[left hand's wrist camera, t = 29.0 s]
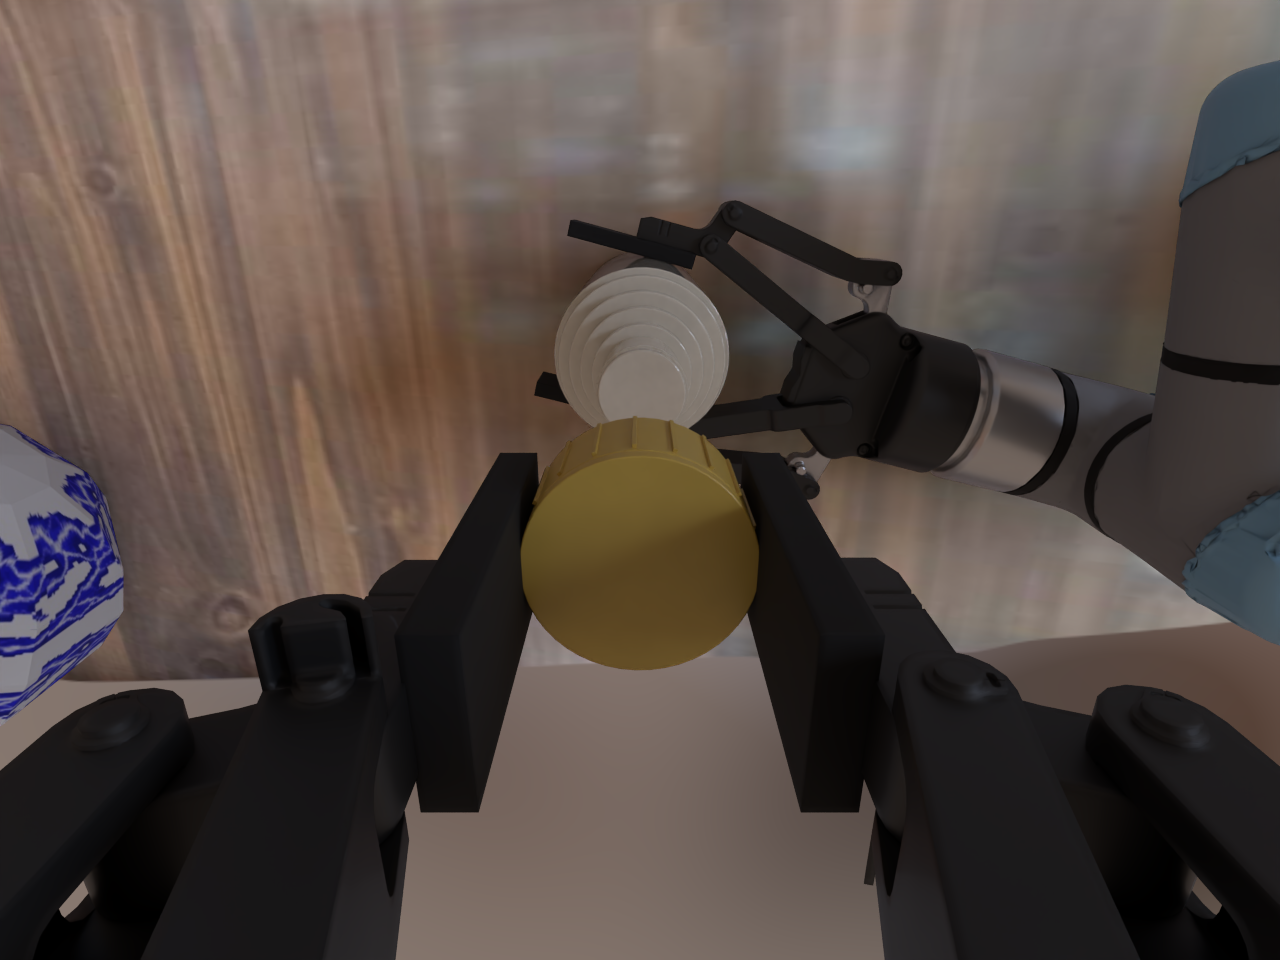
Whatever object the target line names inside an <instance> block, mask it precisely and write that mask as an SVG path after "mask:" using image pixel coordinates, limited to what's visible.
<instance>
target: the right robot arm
mask: <svg viewBox="0 0 1280 960" xmlns="http://www.w3.org/2000/svg"><path fill="white" fill-rule="evenodd" d="M1179 206H1180V207H1181V208H1182V209H1181V216H1180V224H1179V232H1178V240H1177V247H1176V255H1175V263H1174V271H1173V279H1172V286H1171V294H1170V302H1169V310H1168V317H1167V325H1166V333H1165V341H1164V343H1163V349H1162V357H1161V360H1160V367H1159V374H1158V381H1157V387H1156V394H1153V393H1150V394H1147V393H1143V392H1139V391H1136V390H1132V389H1128V388H1124V387H1121V386H1117V385H1113V384H1109V383H1104V382H1100V381H1096V380H1092V379H1088V378H1084V377H1080V376H1076V375H1072V374H1067V373H1063V372H1060V371H1058V370H1056V369H1052V368H1050V367H1047V366H1043V365H1039V364H1036V363H1032V362H1028V361H1025V360H1021V359H1018V358H1014V357H1010V356H1007V355H1003V354H999V353H996V352H992V351H988V350H984V349H975V350H972V349H971V348H970V347H969V346H967V345H965V344H962V343H959V342H955V341H951V340H948V339H944V338H940V337H937V336H933V335H929V334H926V333H922V332H918V331H915V330H911V329H907V328H904V327H901V326H899V325H898V324H897V323H896V322H895V321H894V320H893V319H892V318H891V317H890V316H889V315H887V309H888V304H889V299H890V293H891V288H892V286H893V285H895V284H897V283H898V282H899V280H900V279H901V277H902V268H901V266H900V265H899V264H898V263H895V262H891V261H886V260H880V259H870V258H856V257H854V256H852V255H850V254H848V253H846V252H844V251H841V250H839V249H837V248H835V247H833V246H831V245H829V244H827V243H825V242H823V241H821V240H819V239H817V238H815V237H812V236H810V235H808V234H806V233H804V232H802V231H800V230H798V229H796V228H794V227H792V226H790V225H788V224H785V223H783V222H781V221H779V220H777V219H775V218H773V217H771V216H769V215H767V214H765V213H763V212H761V211H759V210H756V209H754V208H752V207H750V206H748V205H746V204H744V203H742V202H740V201H736V200H735V201H728V202H725V203H723V204H722V205H721V206H720V207H719V209H718V211H717V213H716V214H715V216H714V217H713V219H712V220H711V222H710V223H709V224H708V225H707V226H706V227H704V228H701V229H693V228H690V227H686V226H682V225H679V224H675V223H672V222H668V221H664V220H661V219H657V218H654V217H646V218H641V220H640V224H639V228H638V233H637V237H636V236H633V235H629V234H625V233H622V232H618V231H614V230H611V229H607V228H603V227H600V226H596V225H593V224H589V223H585V222H582V221H578V220H570V225H569V230H568V235H567V236H570V237H574V238H578V239H581V240H585V241H589V242H592V243H596V244H600V245H603V246H607V247H611V248H615V249H618V250H622V251H626V252H629V253H633V254H637V255H640V256H644V257H648V258H651V259H655V260H659V261H662V262H666V263H670V264H673V265H677V266H681V267H684V268H688V269H692V268H693V264H694V260H695V257H696V255H698V256H701V257H704V258H706V259H707V260H708V261H709V262H710V263H712V264H713V265H714V266H715V267H717V268H718V269H719V270H720V271H721V272H723V273H724V274H725V275H726V276H727V277H729V278H730V279H731V280H732V281H734V282H735V283H736V284H737V285H738V286H740V287H741V288H742V289H743V290H745V291H746V292H747V293H748V294H749V295H751V296H752V297H753V298H754V299H755V300H757V301H758V302H759V303H760V304H762V305H763V306H764V307H765V308H766V309H768V310H769V311H770V312H771V313H773V314H774V315H775V316H776V317H777V318H779V319H780V320H781V321H782V322H783V323H785V324H786V325H787V326H788V327H789V328H791V329H792V330H793V331H794V332H796V333H797V334H798V335H799V336H800V337H802V340H801V341H797V344H796V347H795V350H794V353H793V366H792V369H791V371H790V372H789V374H788V375H787V377H786V378H785V380H784V383H783V385H782V388H781V391H780V394H773V395H767V396H764V397H762V398H760V399H754V400H747V401H740V402H733V403H726V404H719V405H713V406H712V407H711V408H710V410H709V411H708V412H707V413H706V414H705V415H704V416H703V417H702V418H701V419H700V420H699V421H698V422H697V423H695V424H694V425H693V426H691V427H690V428H688V429H690V430H692V431H694V432H696V433H697V434H699V435H700V436H702V435H704V436H706V439H710V438H717V437H724V436H731V435H738V434H745V433H753V432H760V431H767V430H771V431H777V432H779V431H787V430H795V429H800V430H801V431H802V432H803V433H804V435H805V436H806V437H807V439H808V440H809V441H810V442H811V444H812V445H813V448H812V449H811V450H810V451H808V452H806V453H799V452H793V453H791V454H789V455H788V456H787V458H784V457H782V456H781V457H782V458H783V460H784V462H785V463H786V465H787V467H788V469H789V470H790V472H791V474H792V475H793V477H794V479H795V481H796V482H797V484H798V486H799V488H800V489H801V491H802V493H803V494H804V496H805V498H806V499H807V500H809V499H813V498H815V497H816V496H817V495H818V494H819V492H820V487H819V485H818V483H817V481H818V480H819V478H820V476H821V475H822V473H823V471H824V470H825V468H826V466H827V465H828V463H829V462H830V460H831V459H838V458H842V457H846V456H857V457H861V458H865V459H869V460H873V461H877V462H881V463H885V464H889V465H893V466H897V467H901V468H905V469H909V470H913V471H917V472H928V471H930V472H931V473H932V474H933V475H934V476H937V477H940V478H944V479H948V480H953V481H957V482H961V483H965V484H969V485H974V486H978V487H982V488H986V489H990V490H994V491H999V492H1003V493H1007V494H1011V495H1016V496H1019V497H1023V498H1027V499H1031V500H1034V501H1038V502H1041V503H1045V504H1049V505H1052V506H1056V507H1059V508H1062V509H1064V510H1067V511H1069V512H1071V513H1073V514H1075V515H1077V516H1078V517H1080V518H1081V519H1082V520H1084V521H1085V522H1087V523H1088V524H1090V525H1091V526H1093V527H1094V528H1095V529H1097V530H1098V531H1100V532H1101V533H1103V534H1104V535H1106V536H1107V537H1109V538H1111V539H1113V540H1114V541H1116V542H1118V543H1120V544H1122V545H1123V546H1124V547H1126V548H1127V549H1129V550H1130V551H1131V552H1133V553H1134V554H1136V555H1137V556H1138V557H1140V558H1141V559H1143V560H1144V561H1145V562H1147V563H1148V564H1149V565H1151V566H1152V567H1153V568H1155V569H1156V570H1158V571H1159V572H1160V573H1162V574H1163V575H1164V576H1166V577H1167V578H1168V579H1170V580H1171V581H1172V582H1174V583H1175V584H1176V585H1178V586H1179V587H1180V588H1182V589H1183V590H1184V591H1186V594H1187V595H1188V596H1189V597H1190V598H1192V599H1193V600H1195V601H1196V602H1197V603H1199V604H1201V605H1203V606H1205V607H1207V608H1209V609H1211V610H1212V611H1214V612H1216V613H1217V614H1219V615H1221V616H1223V617H1224V618H1226V619H1228V620H1229V621H1231V622H1233V623H1234V624H1236V625H1238V626H1240V627H1241V628H1243V629H1245V630H1248V631H1250V632H1252V633H1254V634H1256V635H1257V636H1259V637H1261V638H1263V639H1265V640H1267V641H1269V642H1271V643H1274V644H1277V645H1280V60H1279V61H1275V62H1270V63H1266V64H1262V65H1258V66H1255V67H1251V68H1248V69H1245V70H1242V71H1239V72H1237V73H1235V74H1233V75H1231V76H1229V77H1227V78H1226V79H1225V80H1223V81H1222V82H1221V83H1219V84H1218V85H1217V86H1216V87H1215V88H1214V89H1213V90H1212V91H1211V93H1210V94H1209V95H1208V97H1207V98H1206V99H1205V101H1204V103H1203V105H1202V108H1201V110H1200V114H1199V119H1198V123H1197V128H1196V132H1195V136H1194V141H1193V145H1192V150H1191V154H1190V159H1189V163H1188V168H1187V172H1186V177H1185V181H1184V185H1183V189H1182V191H1181V193H1180V197H1179ZM735 231H738V232H740V233H743V234H745V235H747V236H749V237H751V238H753V239H755V240H757V241H759V242H762V243H764V244H766V245H768V246H770V247H772V248H774V249H776V250H778V251H780V252H783V253H785V254H787V255H789V256H791V257H793V258H795V259H797V260H799V261H802V262H804V263H806V264H808V265H810V266H812V267H814V268H816V269H818V270H820V271H823V272H825V273H827V274H829V275H831V276H834V277H837V278H840V279H843V280H846V281H849V282H848V291H849V293H850V294H851V295H852V296H854V297H857V298H859V299H860V300H861V301H862V302H863V305H864V310H863V311H860V312H858V313H855V314H853V315H850V316H847V317H845V318H842V319H840V320H837V321H834V322H832V323H829V324H827V325H825V324H824V323H823V322H821V321H820V320H819V319H818V318H816V317H815V316H814V315H813V314H811V313H810V312H809V311H807V310H806V309H805V308H804V307H803V306H801V305H800V304H799V303H798V302H797V301H795V300H794V299H793V298H792V297H791V296H789V295H788V294H787V293H786V292H785V291H784V290H782V289H781V288H780V287H779V286H778V285H776V284H775V283H774V282H773V281H772V280H770V279H769V278H768V277H767V276H766V275H764V274H763V273H762V272H761V271H760V270H758V269H757V268H756V267H755V266H754V265H752V264H751V263H750V262H749V261H748V260H746V259H745V258H744V257H743V256H742V255H740V254H739V253H738V252H737V251H736V250H734V249H733V248H732V247H731V246H730V245H728V244H727V243H728V241H729V240H730V238H731V237H732V235H733V234H734V233H735ZM534 395H535V396H539V397H543V398H547V399H551V400H555V401H559V402H563V403H567V404H569V402H568V401H567V399H566V398H565V396H564V394H563V392H562V390H561V387H560V385H559V381H558V378H557V375H556V374H552V373H548V372H543V373H542V375H541V376H540V378H539V380H538V381H537V385H536V389H535V394H534ZM717 450H718V451H719V452H720V453H721V454H722V456H723V457H724V458H725V459H729V460H730V462H731V465H732V468H733V471H734V473H735V476H736V479H737V482H738V484H741V472H742V454H743V453H757V452H746V451H735V450H724V449H717Z"/></svg>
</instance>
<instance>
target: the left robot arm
mask: <svg viewBox="0 0 1280 960" xmlns="http://www.w3.org/2000/svg"><path fill="white" fill-rule="evenodd" d="M538 487H539V479H538V462H537V453H500V454H499V456H498V458H497V459H496V461H495V463H494V464H493V466H492V468H491V470H490V471H489V473H488V475H487V476H486V478H485V480H484V482H483V483H482V485H481V487H480V488H479V490H478V492H477V494H476V495H475V497H474V499H473V500H472V502H471V504H470V506H469V507H468V509H467V511H466V512H465V514H464V516H463V518H462V519H461V521H460V523H459V524H458V526H457V528H456V530H455V531H454V533H453V535H452V536H451V538H450V540H449V542H448V543H447V545H446V547H445V548H444V550H443V552H442V554H441V555H440V557H439V559H438V560H404V561H402V562H401V563H399V564H398V565H396V566H395V567H393V568H391V569H390V570H388V571H387V572H385V573H384V574H382V575H381V576H380V578H379V579H378V580H377V582H376V583H375V585H374V586H373V587H372V589H371V590H370V592H369V596H366V597H365V599H364V600H363V599H362V598H358V597H354V596H350V595H346V594H322V595H317V596H312V597H307V598H301V599H298V600H295V601H293V602H290V603H287V604H284V605H282V606H279V607H277V608H275V609H274V610H272V611H270V612H269V613H267V614H265V615H264V616H262V617H260V618H259V619H258V620H257V621H256V622H255V623H254V625H253V626H252V627H251V628H250V629H249V630H248V633H249V637H250V641H251V645H252V649H253V654H254V658H255V662H256V666H257V670H258V674H259V678H260V682H261V687H262V691H263V692H262V694H261V696H260V698H259V700H258V703H257V704H254V705H250V706H246V707H243V708H239V709H234V710H229V711H224V712H219V713H214V714H209V715H205V716H200V717H195V718H190V719H189V718H188V715H187V711H186V708H185V705H184V701H183V699H182V698H181V697H179V696H178V695H177V694H176V693H175V692H173V691H170V690H164V689H158V688H149V689H139V690H129V691H125V692H120V693H118V694H116V695H115V694H112V695H109V696H106V697H103V698H101V699H99V700H97V701H96V702H93V703H91V704H89V705H87V706H85V707H82V708H80V709H78V710H76V711H74V712H73V713H71V714H70V715H69V716H67V717H66V718H64V719H63V720H61V721H60V722H58V723H57V724H55V725H54V726H53V727H51V728H50V729H49V730H48V731H47V732H45V733H44V734H43V735H42V736H41V737H40V738H38V739H37V740H36V741H35V742H34V743H32V744H31V745H30V746H29V747H28V748H26V749H25V750H24V751H23V752H22V753H21V754H19V755H18V756H17V757H16V758H15V759H13V760H12V761H11V762H10V763H9V764H8V765H6V766H5V767H4V768H3V769H2V770H1V771H0V960H395V959H396V950H397V941H398V932H399V923H400V915H401V906H402V897H403V888H404V879H405V870H406V861H407V853H408V844H409V837H408V830H407V823H406V817H405V811H404V810H405V808H406V805H407V802H408V800H409V797H410V795H411V792H412V790H413V787H414V785H415V782H416V784H417V791H418V797H419V804H420V810H421V812H479V809H480V805H481V802H482V798H483V794H484V790H485V787H486V783H487V779H488V776H489V772H490V768H491V764H492V761H493V757H494V753H495V750H496V746H497V742H498V738H499V735H500V731H501V727H502V723H503V720H504V716H505V712H506V708H507V705H508V701H509V697H510V694H511V690H512V686H513V683H514V679H515V675H516V671H517V668H518V664H519V660H520V656H521V653H522V649H523V645H524V642H525V638H526V634H527V630H528V627H529V623H530V619H531V616H532V612H533V611H532V610H531V608H530V606H529V604H528V602H527V599H526V597H525V594H524V591H523V581H522V567H521V551H520V547H521V542H522V537H523V534H524V531H525V529H526V526H527V523H528V520H529V518H530V515H531V512H532V509H533V507H534V504H532V503H533V500H534V497H535V495H536V492H537V489H538ZM741 489H743V491H744V494H745V497H746V499H747V502H748V505H749V507H750V510H751V513H752V515H753V518H754V521H755V523H756V529H755V531H756V535H757V539H758V542H759V561H758V575H757V589H756V593H755V596H754V599H753V602H752V604H751V606H750V607H749V609H748V611H747V613H748V617H749V621H750V625H751V628H752V632H753V636H754V639H755V643H756V647H757V651H758V654H759V658H760V662H761V665H762V669H763V673H764V677H765V680H766V684H767V688H768V692H769V695H770V699H771V703H772V706H773V710H774V714H775V718H776V721H777V725H778V729H779V733H780V736H781V740H782V744H783V747H784V751H785V755H786V759H787V762H788V766H789V770H790V773H791V777H792V781H793V785H794V788H795V792H796V796H797V799H798V803H799V807H800V811H801V812H859V807H860V801H861V794H862V788H863V781H864V780H865V782H866V785H867V787H868V790H869V792H870V795H871V798H872V800H873V802H874V805H875V808H876V811H875V817H874V823H873V829H872V835H871V842H870V848H869V854H868V860H867V866H866V873H865V880H864V884H868V885H873V883H874V877H875V878H876V886H877V895H878V904H879V913H880V922H881V930H882V939H883V948H884V957H885V960H1280V766H1279V765H1277V764H1276V763H1275V762H1274V761H1273V760H1271V759H1270V758H1269V757H1268V756H1267V755H1266V754H1264V753H1263V752H1262V751H1261V750H1260V749H1258V748H1257V747H1256V746H1255V745H1254V744H1252V743H1251V742H1250V741H1249V740H1248V739H1246V738H1245V737H1244V736H1243V735H1242V734H1240V733H1239V732H1238V731H1237V730H1236V729H1234V728H1233V727H1232V726H1231V725H1230V724H1229V723H1227V722H1226V721H1224V720H1223V719H1221V718H1220V717H1218V716H1217V715H1215V714H1214V713H1212V712H1211V711H1209V710H1208V709H1207V708H1205V707H1203V706H1201V705H1199V704H1196V703H1194V702H1192V701H1190V700H1188V699H1185V698H1184V697H1182V696H1180V695H1178V694H1175V693H1172V692H1169V691H1163V690H1162V689H1157V688H1152V687H1144V686H1133V685H1121V686H1116V687H1110V688H1107V689H1106V690H1104V691H1103V692H1102V693H1101V694H1099V695H1098V696H1097V699H1096V703H1095V706H1094V709H1093V713H1092V716H1090V715H1085V714H1080V713H1076V712H1071V711H1066V710H1061V709H1056V708H1051V707H1046V706H1041V705H1037V704H1034V703H1030V702H1026V701H1022V699H1021V697H1020V695H1019V693H1018V690H1017V689H1016V688H1015V687H1014V685H1013V684H1012V683H1011V681H1010V680H1009V679H1008V677H1007V676H1005V675H1004V674H1003V673H1001V672H1000V671H998V670H997V669H995V668H994V667H993V666H991V665H990V664H988V663H985V662H983V661H980V660H978V659H976V658H973V657H971V656H969V655H965V654H960V653H956V652H955V650H954V649H953V648H952V646H951V645H950V643H949V642H948V641H947V639H946V638H945V637H944V635H943V634H942V632H941V631H940V630H939V628H938V627H937V625H936V624H935V623H934V621H933V620H932V619H931V617H930V616H929V614H928V613H927V612H926V610H925V609H922V605H921V603H920V602H919V600H918V599H917V598H916V596H915V595H914V594H911V589H910V588H909V587H908V585H907V584H906V582H905V581H904V580H903V578H902V577H901V575H900V574H899V573H898V572H897V571H895V570H893V569H892V568H890V567H889V566H887V565H886V564H884V563H883V562H881V561H880V560H878V559H876V558H840V556H839V554H838V553H837V551H836V549H835V548H834V546H833V544H832V542H831V541H830V539H829V537H828V536H827V534H826V532H825V530H824V529H823V527H822V525H821V524H820V522H819V520H818V518H817V517H816V515H815V513H814V512H813V510H812V508H811V506H810V505H809V503H808V501H807V500H806V498H805V496H804V494H803V493H802V491H801V489H800V488H799V486H798V484H797V482H796V481H795V479H794V477H793V475H792V474H791V472H790V470H789V469H788V467H787V465H786V463H785V462H784V460H783V458H782V457H781V455H780V453H743V454H742V472H741ZM1197 877H1198V878H1199V879H1200V880H1201V881H1202V882H1203V884H1204V885H1205V886H1206V887H1207V888H1208V889H1209V891H1210V892H1211V893H1212V894H1213V895H1214V896H1215V897H1216V899H1217V900H1218V901H1219V902H1220V903H1221V904H1222V907H1221V909H1220V911H1219V913H1218V914H1217V915H1215V914H1213V913H1212V912H1211V911H1210V910H1209V909H1208V908H1207V907H1206V906H1205V905H1204V904H1203V903H1202V902H1201V901H1200V900H1199V898H1198V897H1197V896H1196V895H1195V894H1194V892H1193V891H1192V889H1193V886H1194V884H1195V881H1196V879H1197ZM82 881H84V883H85V885H86V888H87V890H88V895H87V896H86V897H85V898H84V899H83V901H82V902H81V903H80V904H79V905H78V907H77V908H75V909H74V910H73V911H72V912H71V913H70V914H68V915H67V916H66V917H65V918H64V917H63V916H62V915H61V913H60V910H59V908H60V907H61V906H62V904H63V903H64V902H65V901H66V900H67V899H68V897H69V896H70V895H71V894H72V893H73V892H74V891H75V889H76V888H77V887H78V886H79V885H80V884H81V882H82Z"/></svg>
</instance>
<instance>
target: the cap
mask: <svg viewBox="0 0 1280 960" xmlns="http://www.w3.org/2000/svg"><path fill="white" fill-rule="evenodd" d="M532 504H534V507H533V509H532V512H531V515H530V518H529V520H528V523H527V526H526V529H525V531H524V534H523V537H522V542H521V547H520V551H521V567H522V581H523V591H524V594H525V597H526V599H527V602H528V604H529V606H530V608H531V610H532V611H533V613H534V615H535V616H536V618H537V620H538V621H539V622H540V623H541V625H542V626H543V627H544V629H545V630H546V631H547V632H548V633H549V634H550V635H551V636H552V637H553V638H554V639H555V640H557V641H558V642H559V643H561V644H562V645H563V646H564V647H566V648H567V649H569V650H570V651H572V652H574V653H576V654H577V655H579V656H581V657H583V658H585V659H588V660H590V661H592V662H595V663H598V664H602V665H605V666H609V667H614V668H619V669H628V670H653V669H661V668H667V667H671V666H675V665H679V664H682V663H684V662H687V661H690V660H693V659H695V658H697V657H699V656H701V655H703V654H705V653H706V652H708V651H709V650H711V649H712V648H714V647H715V646H717V645H718V644H720V643H721V642H722V641H723V640H724V639H725V638H727V637H728V636H729V635H730V634H731V633H732V632H733V630H734V629H735V628H736V627H737V626H738V625H739V623H740V622H741V621H742V619H743V618H744V616H745V615H746V613H747V611H748V609H749V607H750V606H751V604H752V602H753V599H754V596H755V593H756V589H757V575H758V561H759V542H758V539H757V535H756V531H755V529H756V523H755V521H754V518H753V515H752V513H751V510H750V507H749V505H748V502H747V499H746V497H745V494H744V491H743V489H740V487H739V484H738V482H737V479H736V476H735V473H734V471H733V468H732V465H731V462H730V460H729V459H725V458H724V457H723V456H722V454H721V453H720V452H719V451H718V450H717V449H716V448H715V447H714V446H713V445H712V444H711V443H710V442H709V441H707V439H706V436H704V435H702V436H700V435H699V434H697V433H696V432H694V431H692V430H690V429H688V428H686V427H684V426H681V425H678V424H676V423H674V421H673V420H669V421H665V420H661V419H654V418H637V416H633V418H626V419H620V420H614V421H611V422H607V423H604V424H601V423H598V424H597V427H594V428H592V429H590V430H588V431H586V432H585V433H583V434H581V435H580V436H578V437H577V438H575V439H574V440H573V441H572V442H571V441H570V440H569V441H568V442H567V443H566V446H565V448H564V449H563V450H562V451H561V452H560V453H559V454H558V455H557V457H556V458H555V460H554V461H553V462H552V464H551V465H550V467H548V466H546V468H545V470H544V473H543V476H542V478H541V481H540V484H539V487H538V489H537V492H536V495H535V497H534V500H533V503H532Z"/></svg>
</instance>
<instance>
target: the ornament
mask: <svg viewBox="0 0 1280 960" xmlns="http://www.w3.org/2000/svg"><path fill="white" fill-rule="evenodd" d="M122 612H123V566H122V562H121V558H120V554H119V550H118V545H117V541H116V537H115V533H114V528H113V524H112V520H111V516H110V512H109V507H108V503H107V499H106V497H105V496H104V494H103V493H102V492H101V490H100V489H99V488H98V486H97V485H96V484H95V482H94V481H93V480H92V478H91V477H90V476H89V474H88V473H87V472H85V471H84V470H82V469H80V468H79V467H77V466H75V465H74V464H72V463H71V462H69V461H67V460H66V459H64V458H62V457H61V456H59V455H58V454H56V453H54V452H53V451H51V450H49V449H48V448H46V447H45V446H43V445H41V444H40V443H38V442H36V441H35V440H33V439H32V438H30V437H28V436H27V435H25V434H23V433H22V432H20V431H19V430H17V429H15V428H14V427H12V426H9V425H3V424H0V726H1V725H3V724H4V723H6V722H7V721H8V720H9V719H10V718H12V717H13V716H14V715H16V714H17V713H18V712H19V711H21V710H22V709H23V708H24V707H26V706H27V705H28V704H29V703H30V702H32V701H33V700H34V699H35V698H37V697H38V696H39V695H40V694H42V693H43V692H44V691H45V690H47V689H48V688H49V687H50V686H52V685H53V684H54V683H55V682H57V681H58V680H59V679H60V678H62V677H63V676H64V675H65V674H67V673H68V672H69V671H70V670H72V669H73V668H74V667H75V666H77V665H78V664H79V663H80V662H82V661H83V660H84V659H85V658H87V657H88V656H89V655H90V654H92V653H93V652H94V651H95V650H97V649H98V648H99V647H100V646H101V645H102V644H103V642H104V641H105V639H106V637H107V636H108V634H109V633H110V631H111V629H112V628H113V626H114V625H115V623H116V621H117V620H118V618H119V617H120V615H121V613H122Z"/></svg>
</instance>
